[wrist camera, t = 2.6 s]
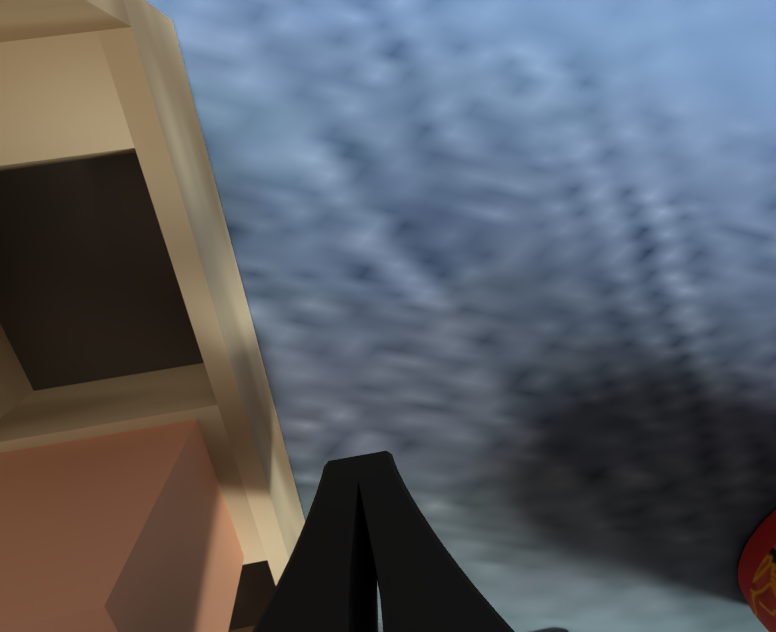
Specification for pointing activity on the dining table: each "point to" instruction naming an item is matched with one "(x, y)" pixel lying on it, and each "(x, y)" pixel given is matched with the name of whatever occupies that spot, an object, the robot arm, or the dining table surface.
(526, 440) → the dining table surface
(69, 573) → the block
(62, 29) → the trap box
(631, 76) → the dining table surface
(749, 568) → the canned food
